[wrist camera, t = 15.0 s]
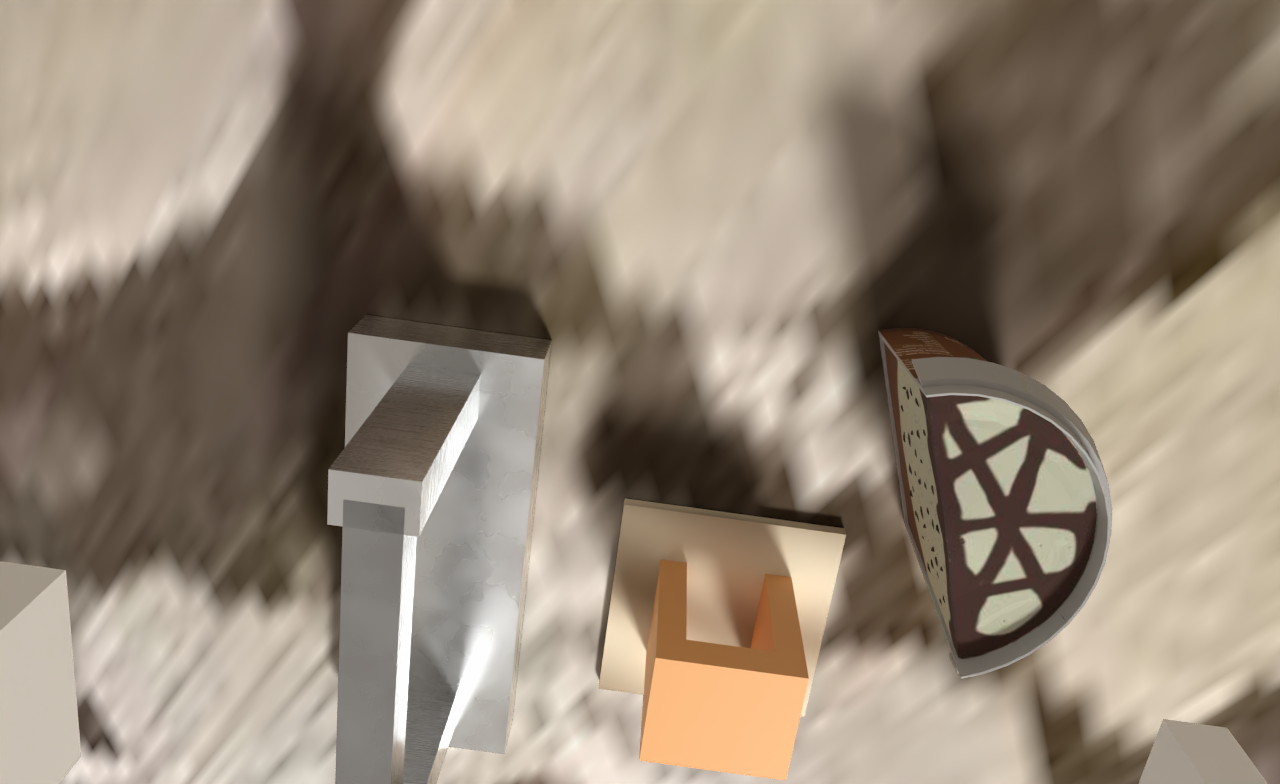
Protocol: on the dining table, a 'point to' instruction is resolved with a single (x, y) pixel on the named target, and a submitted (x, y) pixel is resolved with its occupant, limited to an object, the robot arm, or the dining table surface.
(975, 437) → the food container
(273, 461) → the dining table surface
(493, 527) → the rail stand
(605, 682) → the pad
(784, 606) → the orange notched sleeve
